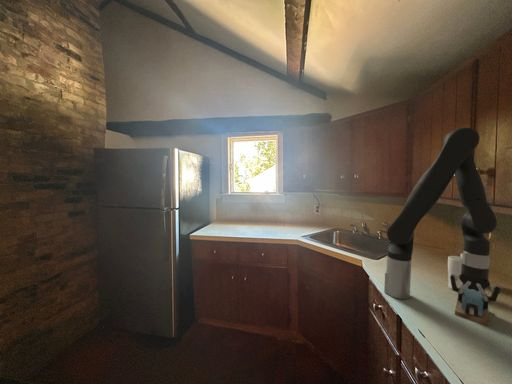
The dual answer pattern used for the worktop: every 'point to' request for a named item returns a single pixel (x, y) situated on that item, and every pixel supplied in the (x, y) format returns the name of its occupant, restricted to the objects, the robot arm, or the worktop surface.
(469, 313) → the rail stand
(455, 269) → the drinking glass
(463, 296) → the block
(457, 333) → the worktop surface
